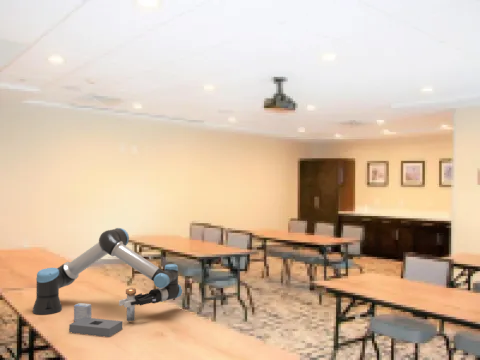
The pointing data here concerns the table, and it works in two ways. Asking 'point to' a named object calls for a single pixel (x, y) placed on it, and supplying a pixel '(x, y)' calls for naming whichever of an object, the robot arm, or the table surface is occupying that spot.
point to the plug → (131, 309)
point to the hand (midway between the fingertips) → (122, 303)
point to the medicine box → (82, 311)
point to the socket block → (96, 327)
